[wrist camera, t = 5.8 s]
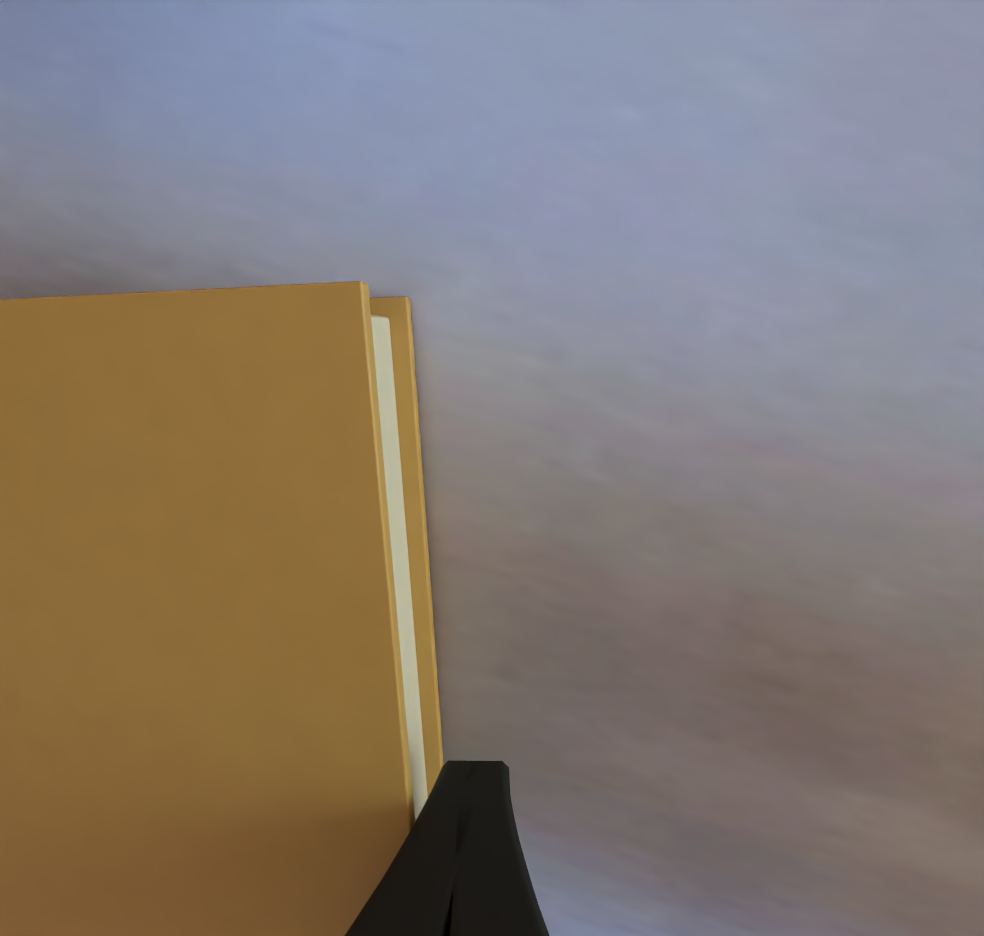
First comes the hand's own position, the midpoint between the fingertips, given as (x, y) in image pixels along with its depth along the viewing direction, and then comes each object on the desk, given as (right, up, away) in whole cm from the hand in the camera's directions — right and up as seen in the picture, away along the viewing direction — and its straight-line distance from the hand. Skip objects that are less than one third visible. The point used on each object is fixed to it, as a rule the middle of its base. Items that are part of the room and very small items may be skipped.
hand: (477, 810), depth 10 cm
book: (-7, 0, +2) cm, 7 cm away
